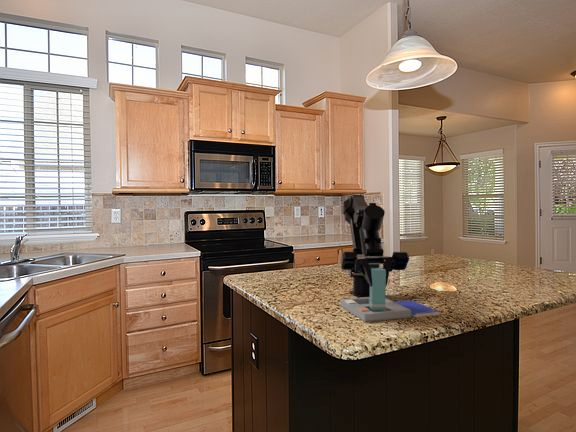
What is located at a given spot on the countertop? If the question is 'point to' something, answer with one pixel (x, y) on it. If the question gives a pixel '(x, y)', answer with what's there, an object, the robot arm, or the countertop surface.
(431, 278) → the countertop surface
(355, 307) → the socket board
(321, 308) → the countertop surface
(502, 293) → the countertop surface
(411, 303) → the hard drive
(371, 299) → the plug
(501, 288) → the countertop surface
